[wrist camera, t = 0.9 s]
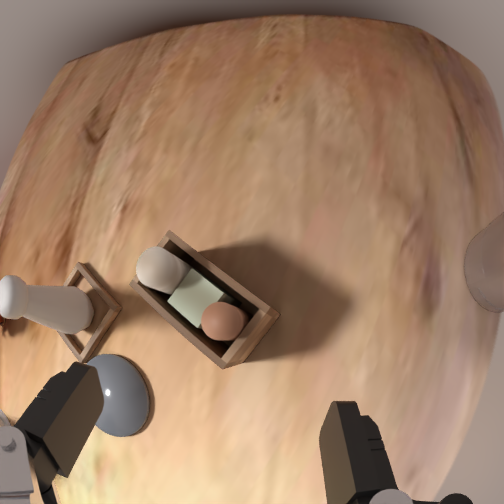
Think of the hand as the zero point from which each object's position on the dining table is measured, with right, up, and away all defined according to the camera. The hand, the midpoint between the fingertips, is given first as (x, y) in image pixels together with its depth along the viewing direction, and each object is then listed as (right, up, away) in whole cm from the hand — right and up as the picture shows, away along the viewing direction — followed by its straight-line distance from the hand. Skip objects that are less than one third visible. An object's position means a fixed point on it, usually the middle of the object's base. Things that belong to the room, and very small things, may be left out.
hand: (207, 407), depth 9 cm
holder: (-20, -2, +25) cm, 32 cm away
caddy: (-2, 0, +22) cm, 22 cm away
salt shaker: (-20, -2, +25) cm, 32 cm away
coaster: (-14, -11, +21) cm, 28 cm away
